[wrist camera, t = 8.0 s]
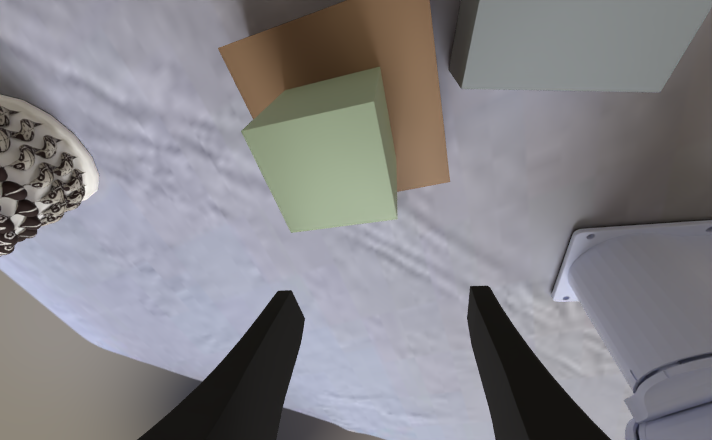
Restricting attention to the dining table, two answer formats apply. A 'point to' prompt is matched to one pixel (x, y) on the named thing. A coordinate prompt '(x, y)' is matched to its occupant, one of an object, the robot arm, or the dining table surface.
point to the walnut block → (354, 54)
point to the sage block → (328, 152)
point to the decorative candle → (38, 171)
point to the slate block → (572, 43)
